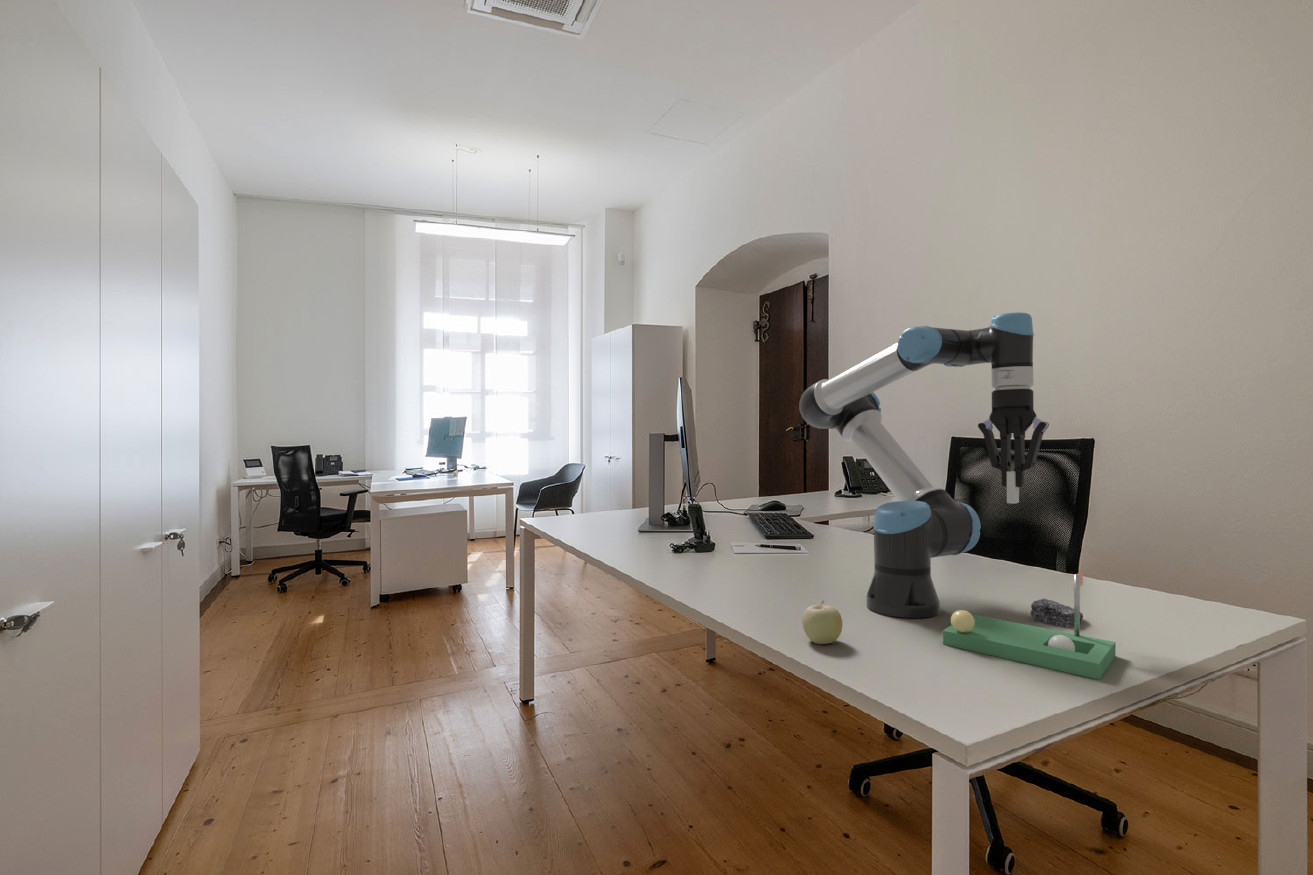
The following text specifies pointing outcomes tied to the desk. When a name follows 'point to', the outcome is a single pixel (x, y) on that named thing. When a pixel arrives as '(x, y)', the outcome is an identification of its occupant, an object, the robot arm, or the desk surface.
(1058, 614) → the rock
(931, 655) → the desk surface
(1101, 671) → the green board with hole
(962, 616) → the ball
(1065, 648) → the ball
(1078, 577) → the pin
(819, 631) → the fruit
